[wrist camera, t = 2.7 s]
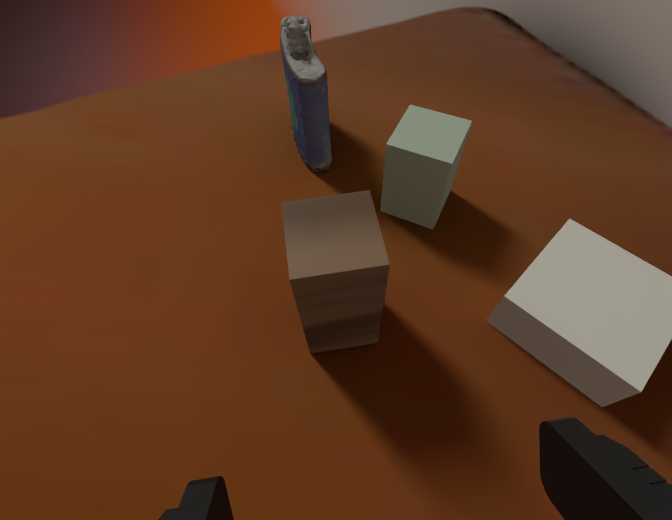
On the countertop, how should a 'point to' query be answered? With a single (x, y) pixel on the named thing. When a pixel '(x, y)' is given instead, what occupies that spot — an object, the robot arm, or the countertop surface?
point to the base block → (590, 314)
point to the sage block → (422, 164)
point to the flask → (306, 93)
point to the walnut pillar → (336, 269)
